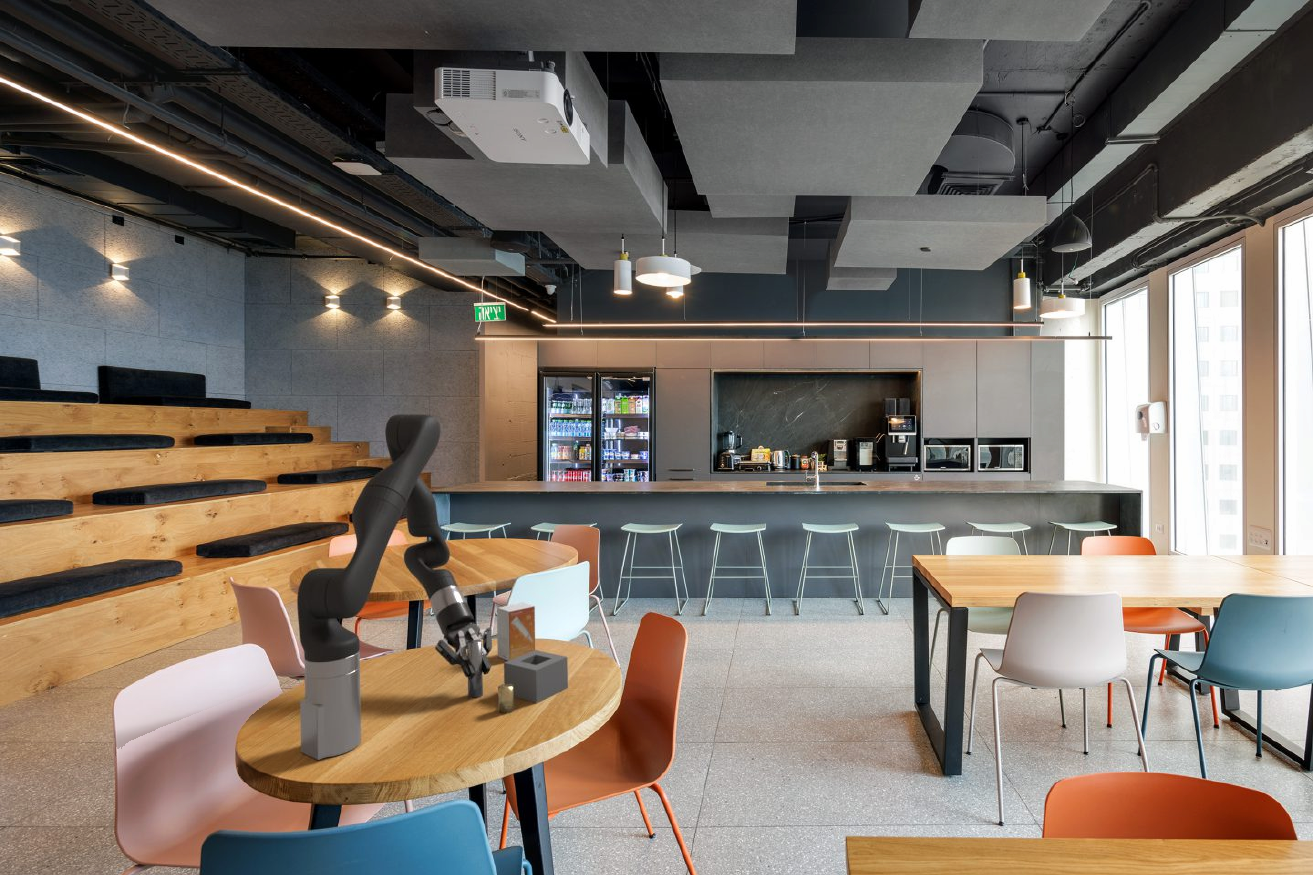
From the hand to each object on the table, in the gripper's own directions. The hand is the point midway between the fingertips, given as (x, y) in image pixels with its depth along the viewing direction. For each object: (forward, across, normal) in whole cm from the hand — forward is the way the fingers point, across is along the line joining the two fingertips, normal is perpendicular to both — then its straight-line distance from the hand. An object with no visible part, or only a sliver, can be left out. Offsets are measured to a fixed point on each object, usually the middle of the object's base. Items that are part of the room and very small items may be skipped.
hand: (479, 674), depth 139 cm
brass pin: (+11, 0, -4) cm, 11 cm away
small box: (-9, +22, +17) cm, 29 cm away
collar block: (+8, +10, -1) cm, 13 cm away
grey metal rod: (+2, 0, +5) cm, 6 cm away
